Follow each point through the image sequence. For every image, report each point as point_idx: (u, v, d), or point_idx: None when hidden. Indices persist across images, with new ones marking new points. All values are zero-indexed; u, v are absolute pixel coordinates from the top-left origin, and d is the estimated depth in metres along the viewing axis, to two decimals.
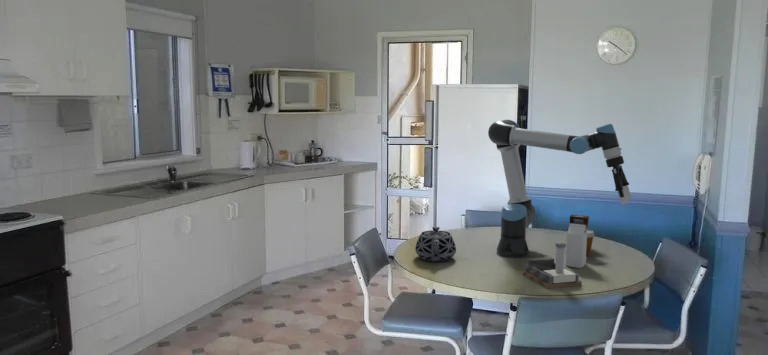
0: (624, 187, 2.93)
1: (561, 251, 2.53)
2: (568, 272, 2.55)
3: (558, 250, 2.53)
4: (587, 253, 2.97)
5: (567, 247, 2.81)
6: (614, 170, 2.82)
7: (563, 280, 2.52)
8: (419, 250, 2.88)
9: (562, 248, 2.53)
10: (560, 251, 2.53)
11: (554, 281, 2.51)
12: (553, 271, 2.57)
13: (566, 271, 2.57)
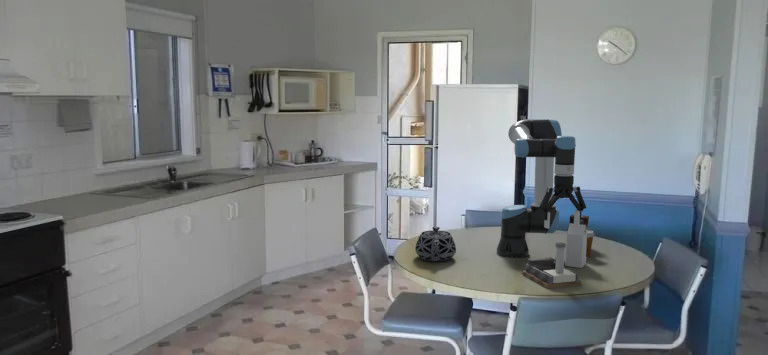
0: (576, 211, 2.54)
1: (561, 251, 2.53)
2: (568, 272, 2.55)
3: (558, 250, 2.53)
4: (587, 253, 2.97)
5: (567, 247, 2.81)
6: (548, 189, 2.49)
7: (563, 280, 2.52)
8: (419, 250, 2.88)
9: (562, 248, 2.53)
10: (560, 251, 2.53)
11: (554, 281, 2.51)
12: (553, 271, 2.57)
13: (566, 271, 2.57)
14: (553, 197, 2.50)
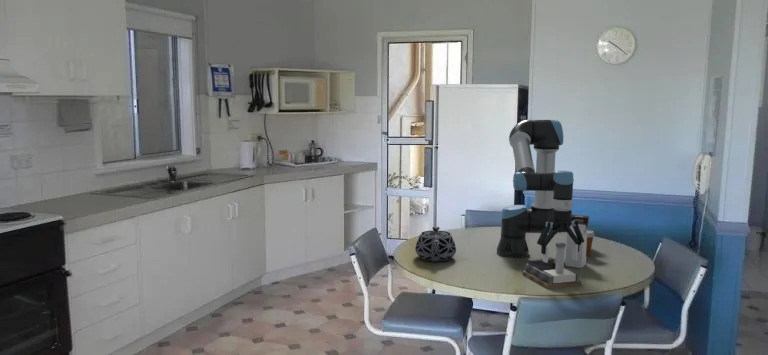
0: (574, 245, 2.56)
1: (561, 251, 2.53)
2: (568, 272, 2.55)
3: (558, 250, 2.53)
4: (587, 253, 2.97)
5: (567, 247, 2.81)
6: (546, 223, 2.51)
7: (563, 280, 2.52)
8: (419, 250, 2.88)
9: (562, 248, 2.53)
10: (560, 251, 2.53)
11: (554, 281, 2.51)
12: (553, 271, 2.57)
13: (566, 271, 2.57)
14: (551, 231, 2.52)
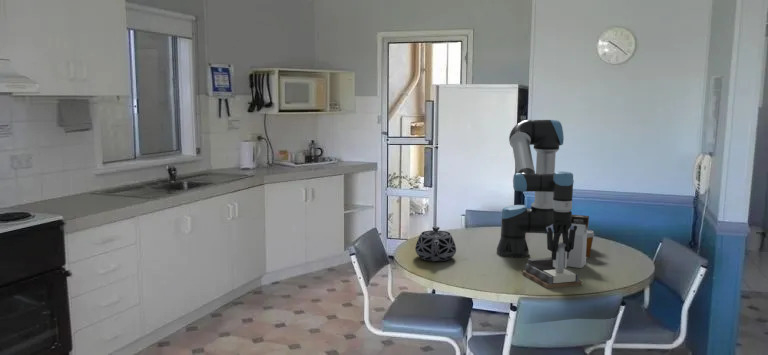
0: None
1: (561, 251, 2.53)
2: (568, 272, 2.55)
3: (558, 250, 2.53)
4: (587, 253, 2.97)
5: None
6: (547, 229, 2.51)
7: (563, 280, 2.52)
8: (419, 250, 2.88)
9: (562, 248, 2.53)
10: (560, 251, 2.53)
11: (554, 281, 2.51)
12: (553, 271, 2.57)
13: (566, 271, 2.57)
14: (555, 235, 2.53)
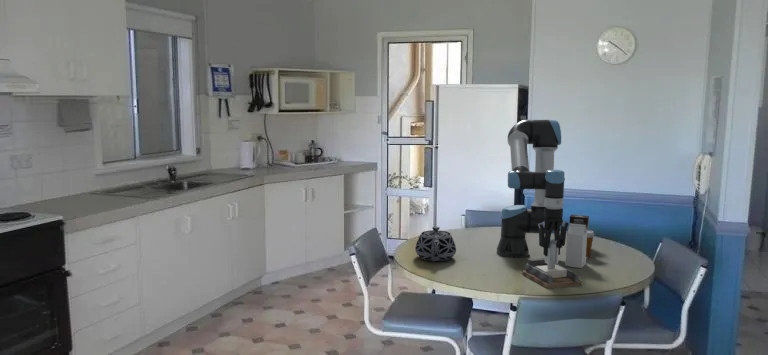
0: None
1: (553, 247, 2.59)
2: (559, 268, 2.61)
3: (550, 246, 2.59)
4: (587, 253, 2.97)
5: (567, 247, 2.81)
6: (538, 226, 2.57)
7: (554, 275, 2.58)
8: (419, 250, 2.88)
9: (554, 244, 2.59)
10: (552, 247, 2.59)
11: None
12: (545, 267, 2.63)
13: (558, 267, 2.63)
14: (547, 231, 2.59)
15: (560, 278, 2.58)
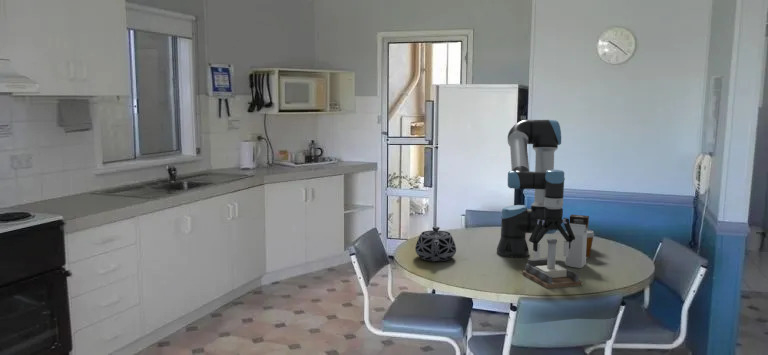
0: (565, 242, 2.62)
1: (552, 247, 2.59)
2: (559, 268, 2.61)
3: (550, 246, 2.59)
4: (587, 253, 2.97)
5: None
6: (538, 221, 2.57)
7: (554, 275, 2.58)
8: (419, 250, 2.88)
9: (553, 244, 2.59)
10: (551, 247, 2.59)
11: None
12: (545, 267, 2.63)
13: (557, 267, 2.63)
14: (543, 229, 2.58)
15: (560, 278, 2.58)
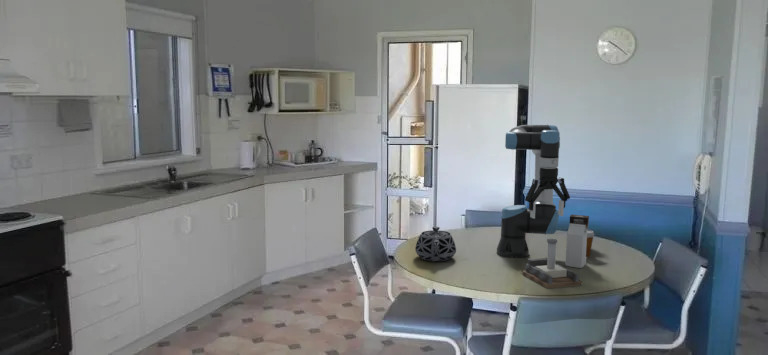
0: (560, 201, 2.67)
1: (552, 247, 2.59)
2: (559, 268, 2.61)
3: (550, 246, 2.59)
4: (587, 253, 2.97)
5: (567, 247, 2.81)
6: (533, 181, 2.62)
7: (554, 275, 2.58)
8: (419, 250, 2.88)
9: (553, 244, 2.59)
10: (551, 247, 2.59)
11: None
12: (545, 267, 2.63)
13: (557, 267, 2.63)
14: (538, 188, 2.63)
15: (560, 278, 2.58)
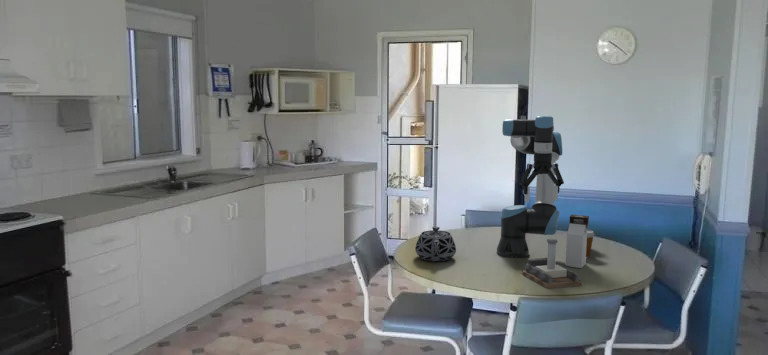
0: (554, 186, 2.73)
1: (552, 247, 2.59)
2: (559, 268, 2.61)
3: (550, 246, 2.59)
4: (587, 253, 2.97)
5: (567, 247, 2.81)
6: (528, 165, 2.68)
7: (554, 275, 2.58)
8: (419, 250, 2.88)
9: (553, 244, 2.59)
10: (551, 247, 2.59)
11: None
12: (545, 267, 2.63)
13: (557, 267, 2.63)
14: (533, 173, 2.69)
15: (560, 278, 2.58)
